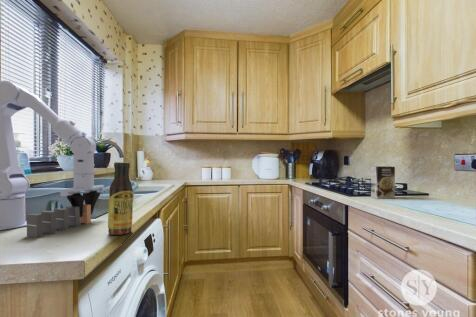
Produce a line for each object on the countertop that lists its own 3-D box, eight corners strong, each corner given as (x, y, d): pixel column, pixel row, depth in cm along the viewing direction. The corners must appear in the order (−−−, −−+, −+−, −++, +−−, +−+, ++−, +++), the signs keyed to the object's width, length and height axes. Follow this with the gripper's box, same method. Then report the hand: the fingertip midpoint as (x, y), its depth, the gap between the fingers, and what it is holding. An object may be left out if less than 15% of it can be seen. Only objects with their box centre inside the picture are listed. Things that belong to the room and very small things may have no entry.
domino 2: (51, 234, 72) (50, 212, 72) (41, 232, 74) (41, 211, 74) (56, 232, 74) (56, 211, 74) (46, 231, 75) (46, 210, 75)
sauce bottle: (113, 237, 68) (112, 162, 68) (104, 233, 73) (103, 162, 73) (137, 232, 73) (136, 162, 73) (127, 228, 77) (127, 162, 77)
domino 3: (64, 230, 76) (64, 209, 76) (54, 229, 77) (54, 209, 77) (68, 229, 77) (68, 209, 77) (59, 227, 79) (59, 208, 79)
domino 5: (87, 224, 83) (86, 205, 83) (77, 223, 85) (77, 204, 85) (90, 223, 85) (90, 204, 85) (81, 222, 86) (81, 203, 86)
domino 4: (76, 227, 80) (75, 207, 79) (66, 226, 81) (65, 207, 81) (80, 225, 81) (79, 206, 81) (71, 224, 82) (70, 205, 82)
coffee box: (377, 198, 129) (377, 166, 129) (370, 197, 136) (370, 166, 136) (395, 198, 129) (395, 166, 129) (388, 196, 136) (387, 166, 136)
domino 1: (36, 237, 69) (36, 215, 69) (26, 236, 70) (26, 214, 70) (42, 236, 70) (42, 214, 70) (32, 235, 72) (32, 213, 72)
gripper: (72, 175, 76) (72, 221, 76) (111, 172, 90) (111, 211, 90) (55, 175, 79) (55, 219, 79) (95, 172, 92) (95, 210, 92)
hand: (84, 215), depth 85 cm, fingers open, 3 cm apart
